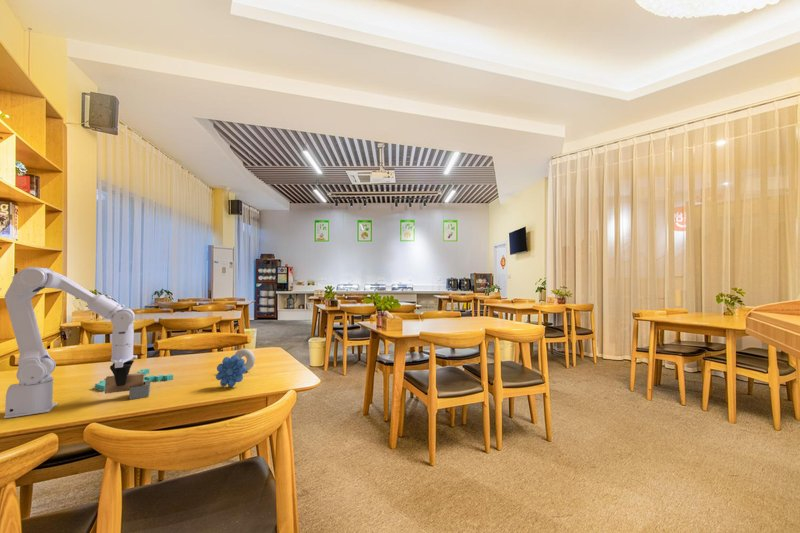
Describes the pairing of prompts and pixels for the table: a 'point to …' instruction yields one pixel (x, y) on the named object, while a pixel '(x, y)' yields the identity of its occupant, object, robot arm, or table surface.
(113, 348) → the robot arm
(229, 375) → the blue bumpy cluster
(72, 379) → the table surface
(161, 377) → the alien figure
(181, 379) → the table surface
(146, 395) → the end cap
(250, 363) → the donut
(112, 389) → the slat
